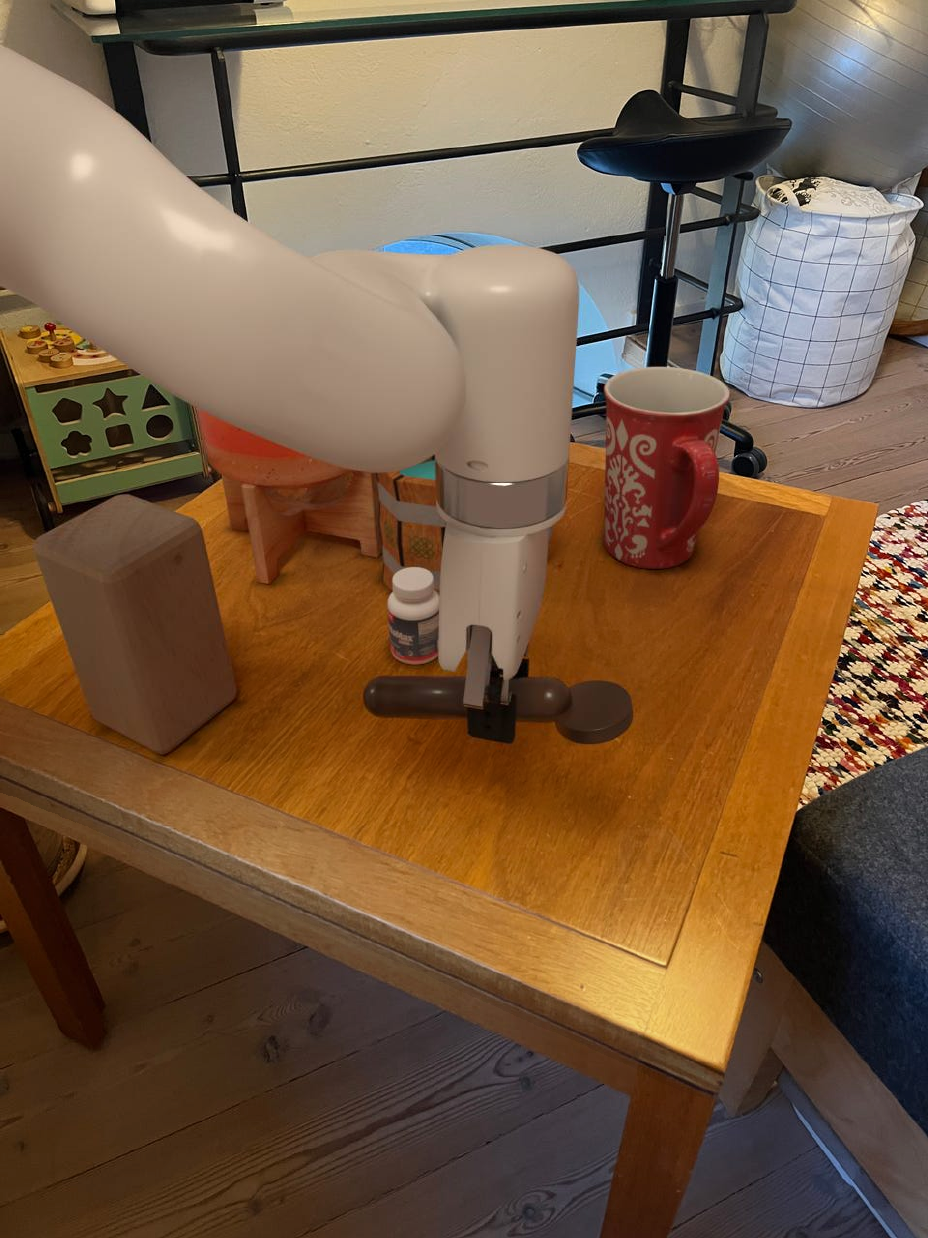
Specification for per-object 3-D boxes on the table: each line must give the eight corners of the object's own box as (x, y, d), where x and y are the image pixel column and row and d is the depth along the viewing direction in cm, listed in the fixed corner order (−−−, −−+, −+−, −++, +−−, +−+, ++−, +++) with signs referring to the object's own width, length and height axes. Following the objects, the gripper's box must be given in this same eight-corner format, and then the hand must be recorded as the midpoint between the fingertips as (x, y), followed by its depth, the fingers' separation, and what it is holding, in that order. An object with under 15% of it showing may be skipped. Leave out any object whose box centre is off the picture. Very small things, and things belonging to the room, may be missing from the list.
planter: (343, 601, 100) (316, 363, 84) (188, 568, 106) (135, 339, 90) (413, 514, 115) (402, 298, 99) (274, 489, 121) (243, 281, 105)
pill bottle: (380, 648, 93) (374, 576, 88) (420, 627, 96) (416, 556, 91) (412, 673, 90) (408, 600, 85) (452, 651, 93) (450, 579, 88)
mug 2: (577, 523, 113) (588, 370, 101) (678, 512, 115) (701, 360, 103) (626, 609, 98) (646, 442, 86) (741, 595, 100) (776, 429, 88)
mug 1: (384, 615, 98) (374, 491, 89) (380, 548, 109) (370, 432, 100) (565, 602, 99) (573, 479, 90) (543, 537, 110) (548, 421, 101)
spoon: (357, 736, 64) (345, 703, 62) (382, 690, 68) (372, 657, 66) (628, 746, 58) (623, 709, 56) (638, 694, 62) (633, 658, 60)
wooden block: (242, 698, 87) (204, 517, 75) (163, 762, 81) (107, 575, 69) (169, 663, 92) (122, 486, 80) (88, 721, 85) (23, 538, 73)
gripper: (474, 416, 59) (475, 640, 70) (391, 547, 46) (409, 795, 57) (590, 428, 57) (572, 655, 68) (536, 567, 45) (525, 819, 56)
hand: (498, 717), depth 63 cm, fingers closed on spoon, 3 cm apart
